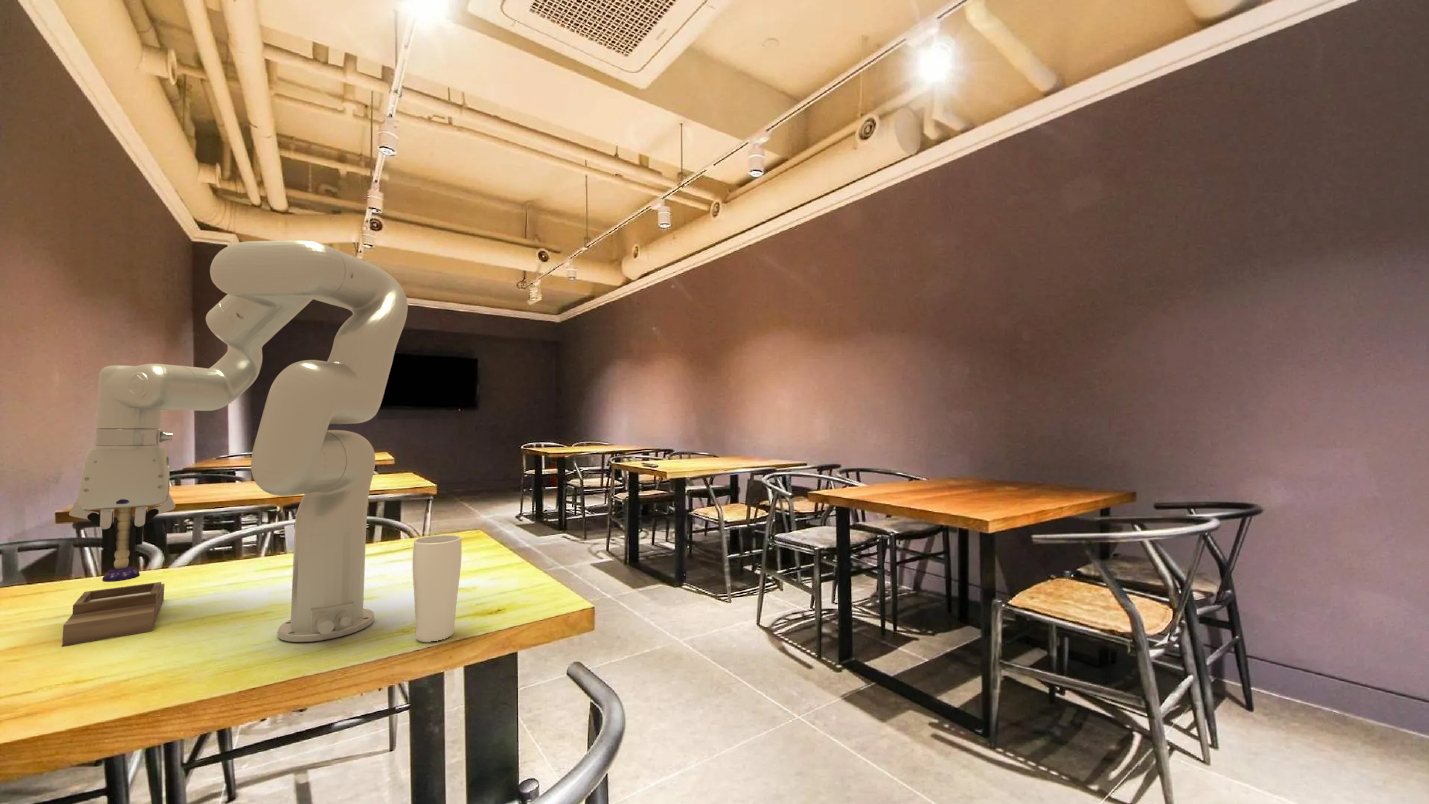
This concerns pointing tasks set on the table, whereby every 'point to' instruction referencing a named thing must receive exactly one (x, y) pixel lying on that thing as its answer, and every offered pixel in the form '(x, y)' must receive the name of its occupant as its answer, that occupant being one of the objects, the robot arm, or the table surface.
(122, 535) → the toy lamp
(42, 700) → the table surface
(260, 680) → the table surface
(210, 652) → the table surface
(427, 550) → the drinking glass
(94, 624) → the display stand
